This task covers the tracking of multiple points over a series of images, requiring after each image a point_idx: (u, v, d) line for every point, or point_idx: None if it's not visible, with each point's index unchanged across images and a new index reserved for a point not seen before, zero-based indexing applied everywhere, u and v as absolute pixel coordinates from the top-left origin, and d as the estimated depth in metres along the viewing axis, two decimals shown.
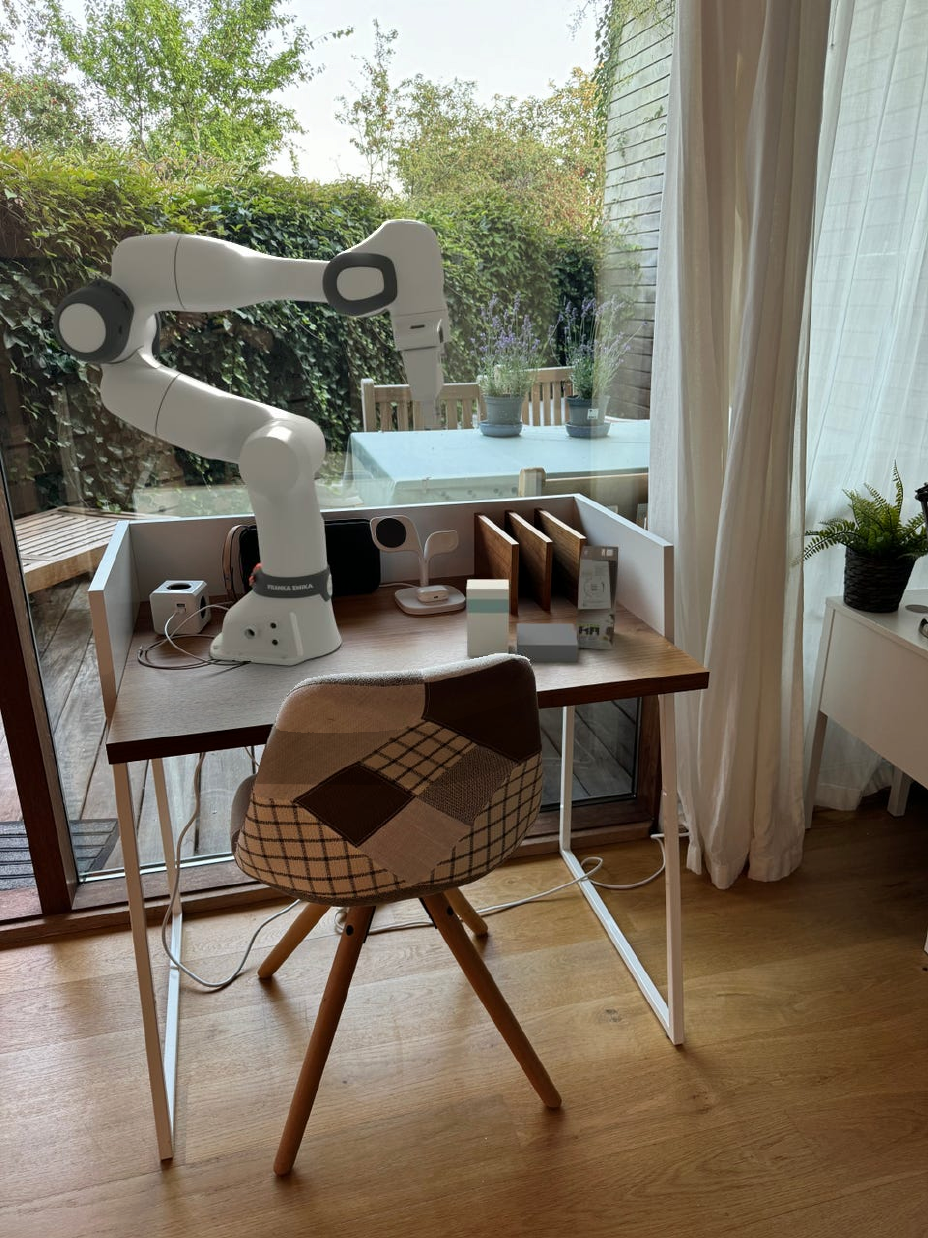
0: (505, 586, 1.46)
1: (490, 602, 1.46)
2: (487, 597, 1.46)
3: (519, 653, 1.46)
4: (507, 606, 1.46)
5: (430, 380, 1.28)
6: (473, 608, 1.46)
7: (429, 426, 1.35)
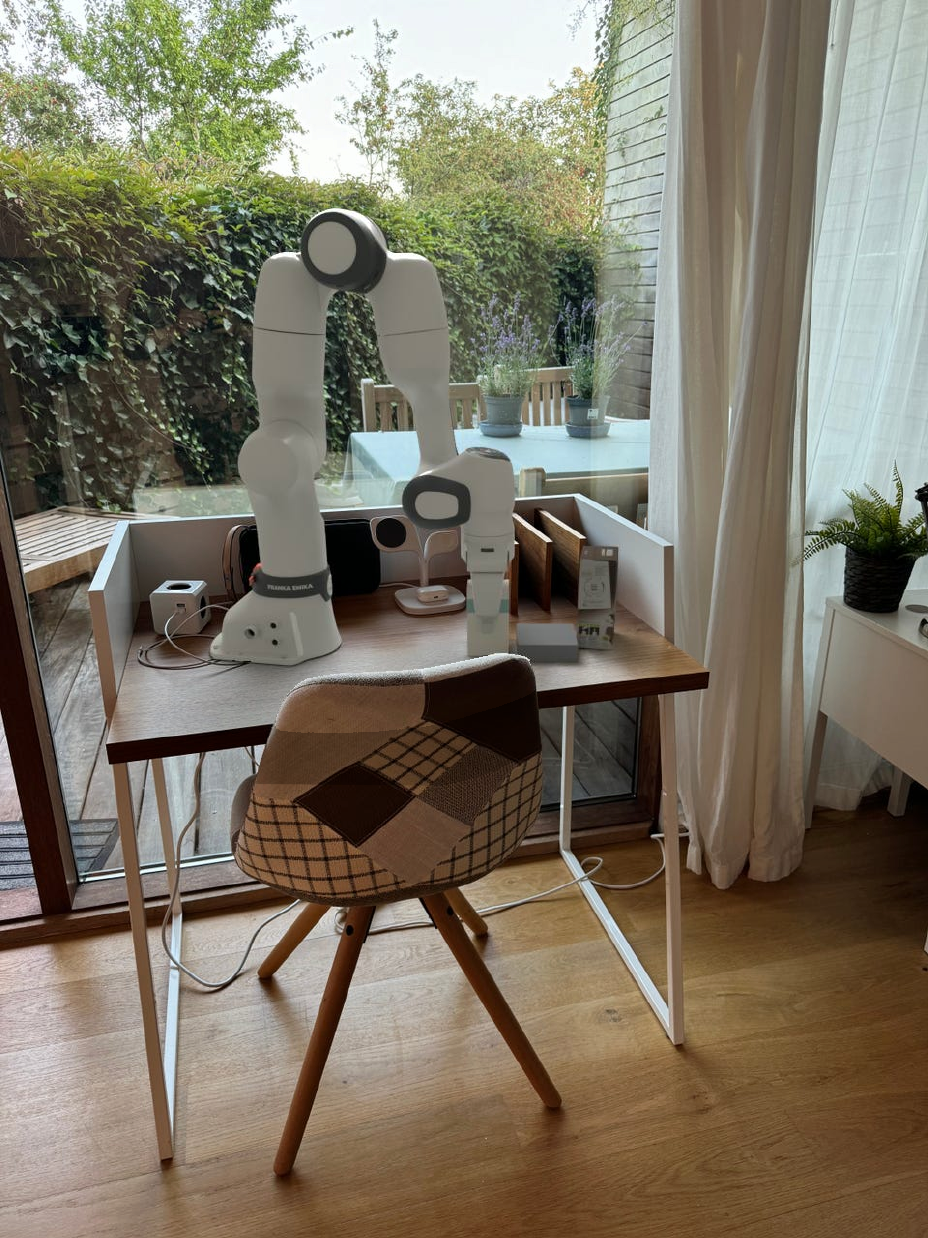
0: (505, 586, 1.46)
1: None
2: None
3: (519, 653, 1.46)
4: (507, 606, 1.46)
5: (494, 603, 1.38)
6: (473, 608, 1.46)
7: (486, 631, 1.46)
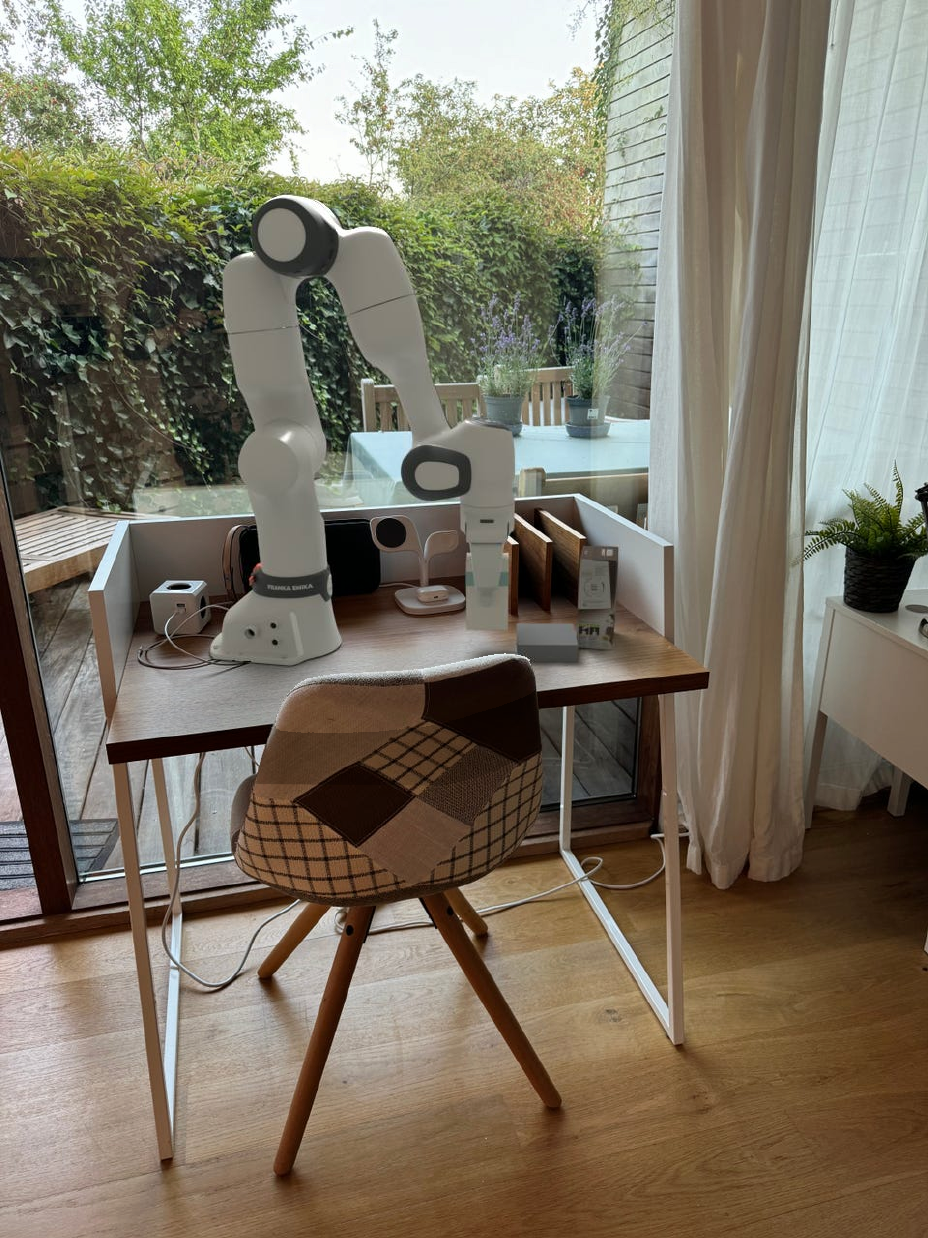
0: (504, 559, 1.45)
1: None
2: None
3: (519, 653, 1.46)
4: (507, 579, 1.44)
5: (494, 575, 1.36)
6: (472, 581, 1.45)
7: (485, 605, 1.45)
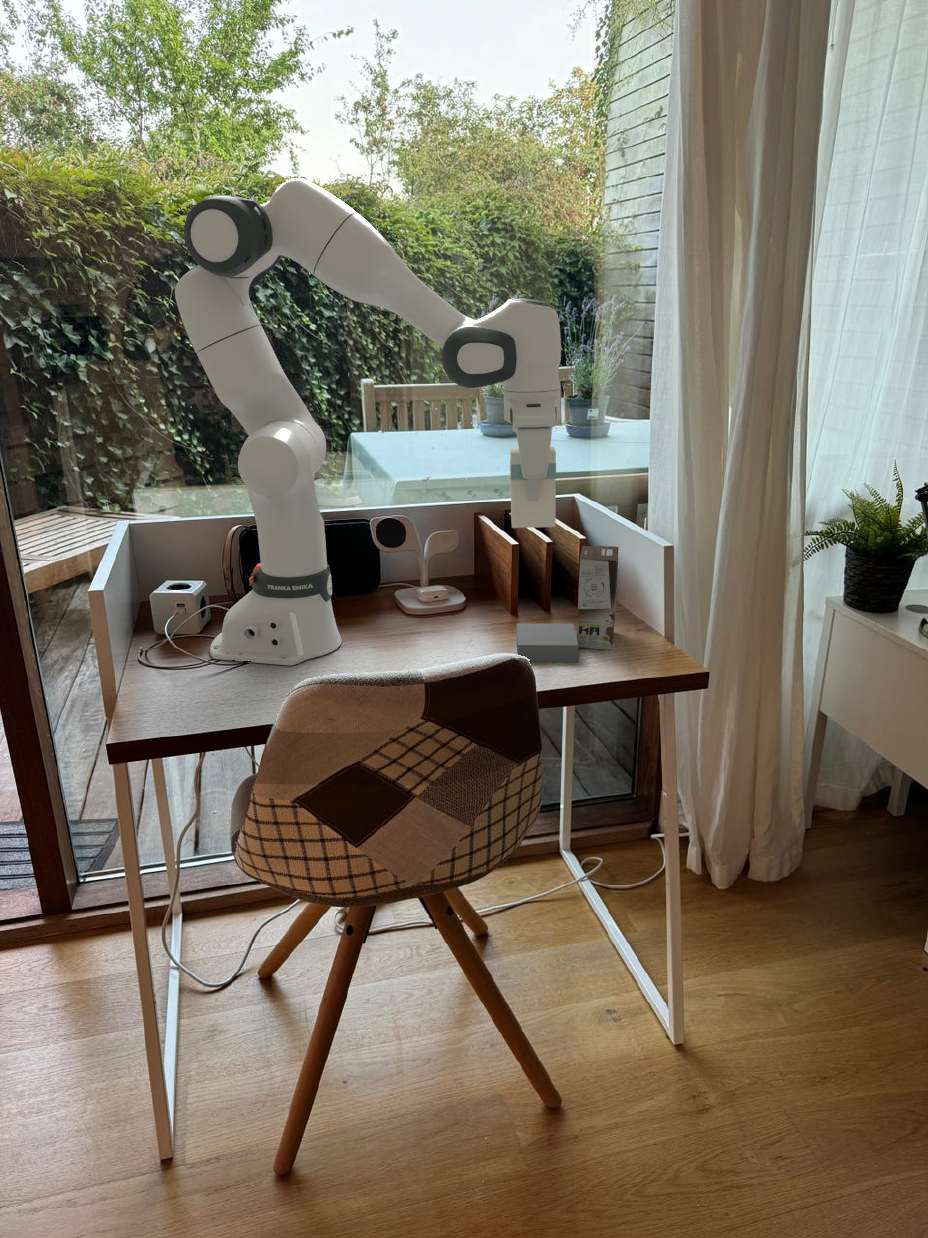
0: (551, 450, 1.38)
1: None
2: None
3: (519, 653, 1.46)
4: (554, 471, 1.38)
5: (543, 460, 1.30)
6: (518, 475, 1.38)
7: (532, 499, 1.38)
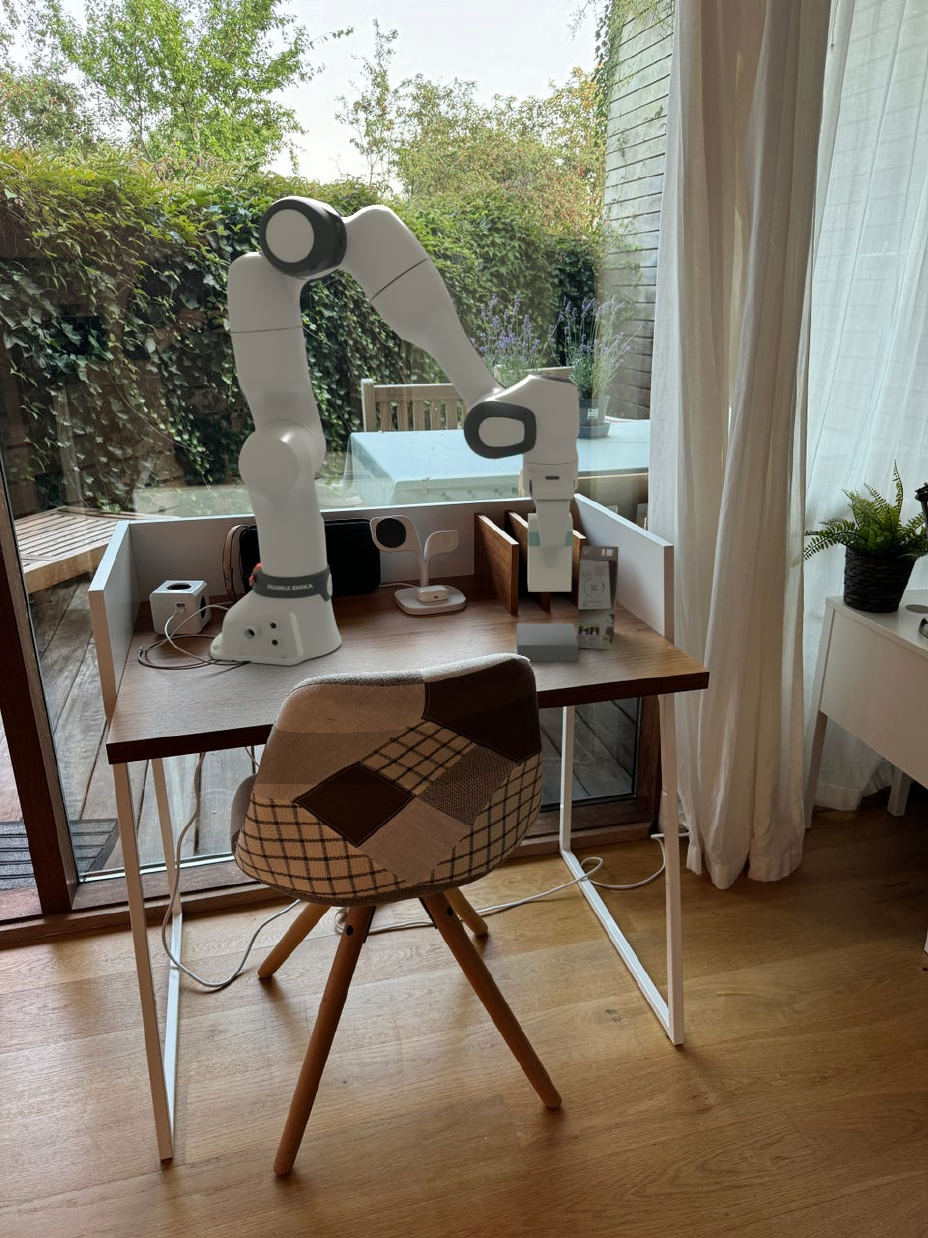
0: (568, 518, 1.42)
1: None
2: None
3: (519, 653, 1.46)
4: (571, 538, 1.41)
5: (561, 532, 1.34)
6: (535, 541, 1.42)
7: (549, 565, 1.42)
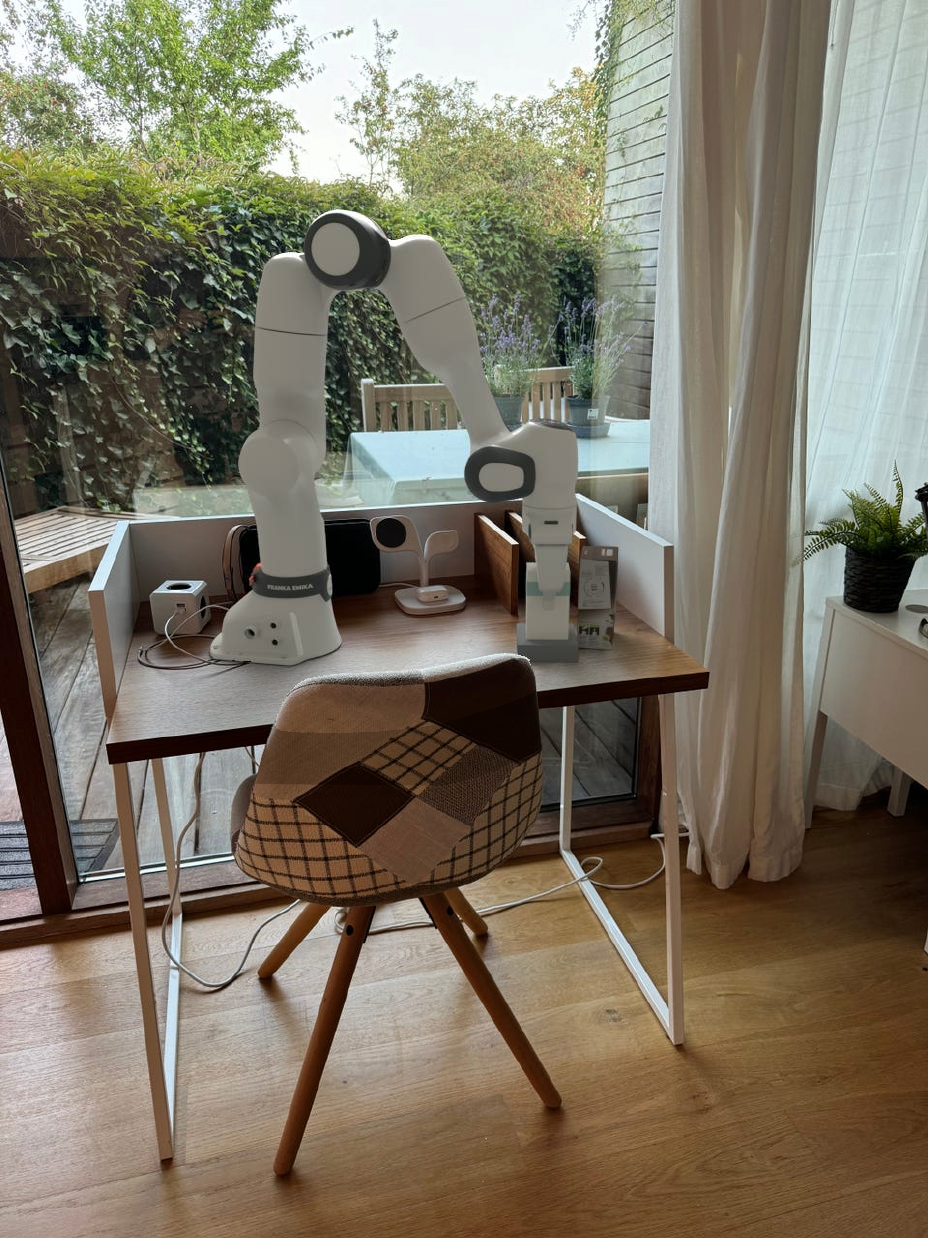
0: None
1: None
2: None
3: (519, 653, 1.46)
4: (568, 589, 1.44)
5: (559, 576, 1.36)
6: (534, 591, 1.45)
7: (547, 608, 1.43)
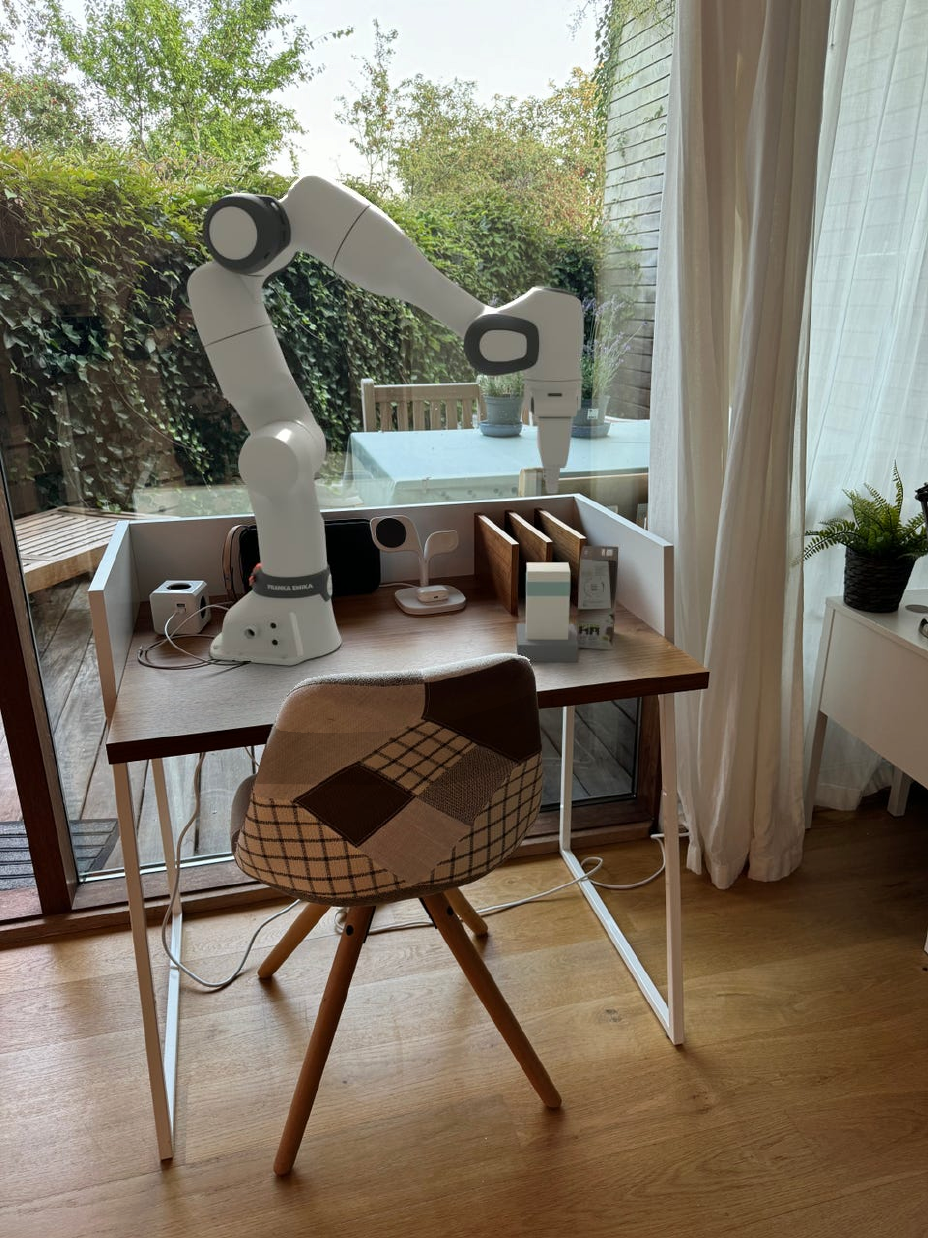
0: (565, 568, 1.45)
1: (551, 585, 1.44)
2: (548, 580, 1.44)
3: (519, 653, 1.46)
4: (568, 589, 1.44)
5: (563, 450, 1.29)
6: (534, 591, 1.45)
7: (550, 491, 1.36)
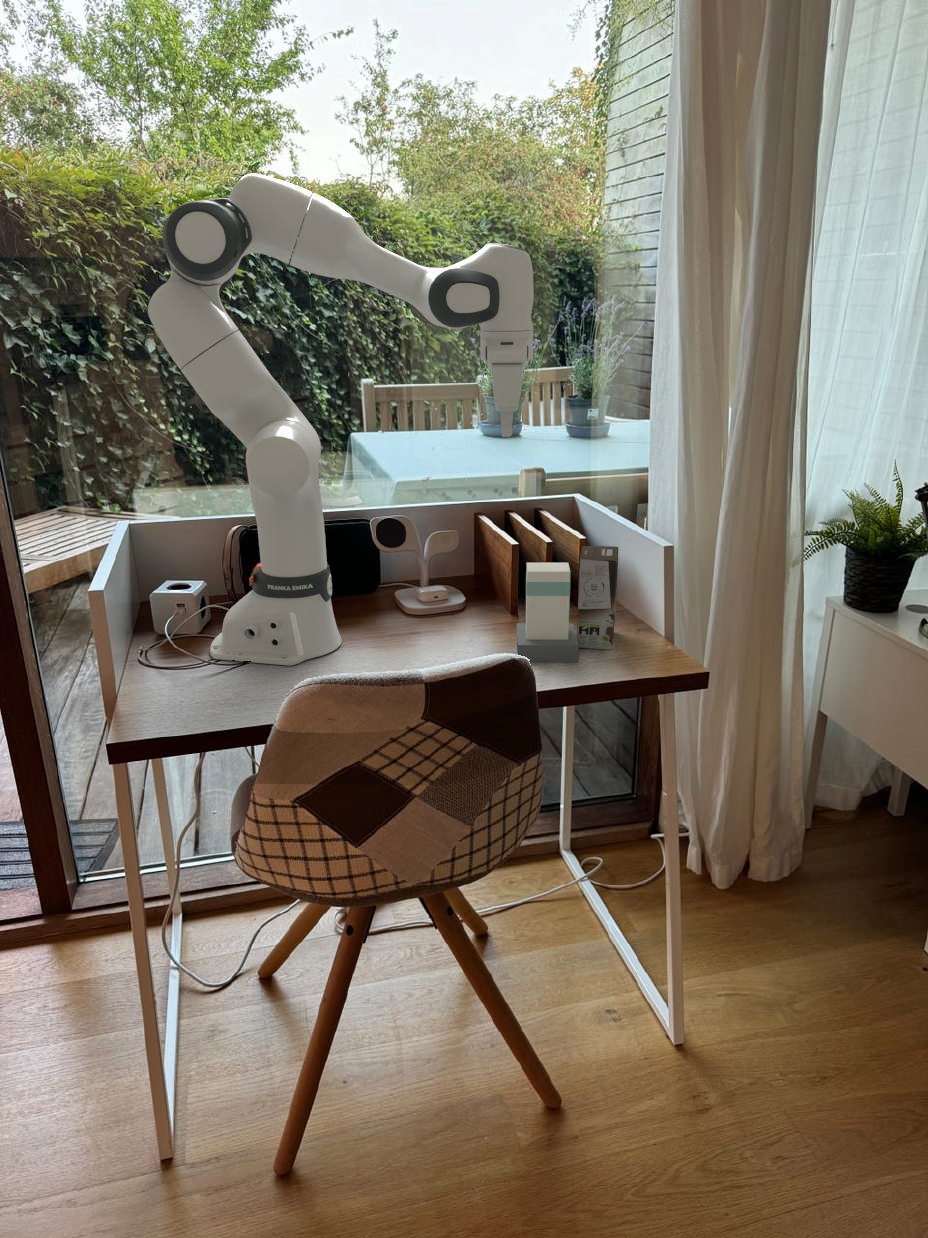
0: (565, 568, 1.45)
1: (551, 585, 1.44)
2: (548, 580, 1.44)
3: (519, 653, 1.46)
4: (568, 589, 1.44)
5: (514, 394, 1.40)
6: (534, 591, 1.45)
7: (505, 434, 1.47)
